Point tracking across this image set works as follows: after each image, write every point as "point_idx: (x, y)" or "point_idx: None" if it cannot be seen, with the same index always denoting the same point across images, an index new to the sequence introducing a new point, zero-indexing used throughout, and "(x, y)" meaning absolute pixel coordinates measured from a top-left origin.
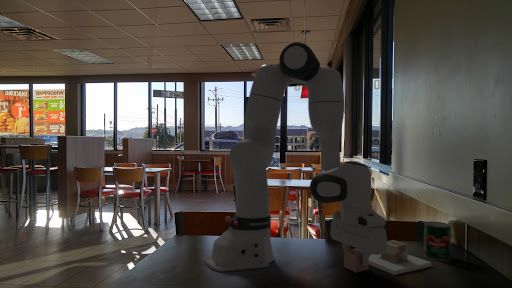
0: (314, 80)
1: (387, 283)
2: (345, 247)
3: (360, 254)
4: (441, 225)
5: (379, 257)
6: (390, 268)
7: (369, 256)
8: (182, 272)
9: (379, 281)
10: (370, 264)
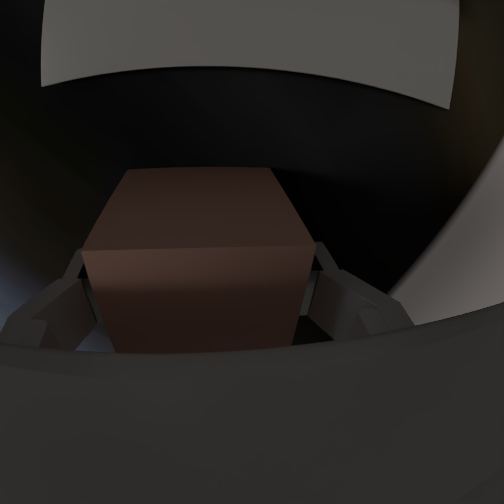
0: None
1: (439, 237)
2: (63, 349)
3: (292, 339)
4: None
5: None
6: (415, 85)
7: (367, 288)
8: None
9: (409, 251)
10: (194, 66)
